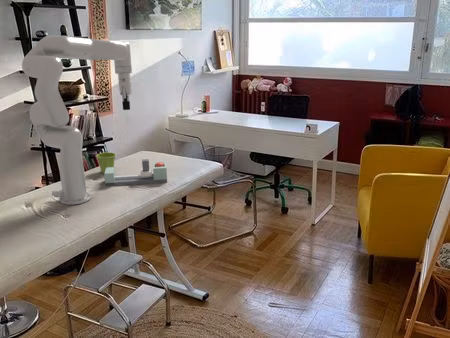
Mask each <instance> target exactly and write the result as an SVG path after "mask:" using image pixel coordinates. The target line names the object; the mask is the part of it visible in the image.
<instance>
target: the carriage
mask: <svg viewBox="0 0 450 338" xmlns="http://www.w3.org/2000/svg"><path fill="white" fill-rule="evenodd" d="M141 164H142V165H141V166H142V168H140V175H141V177H147V176H152V174H153V173H152V172H153V170H152V169H153V167H151V168H150V159H148V158H147V159H142V160H141Z"/></svg>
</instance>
